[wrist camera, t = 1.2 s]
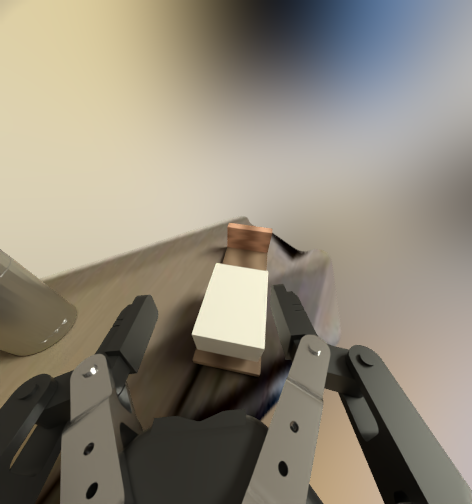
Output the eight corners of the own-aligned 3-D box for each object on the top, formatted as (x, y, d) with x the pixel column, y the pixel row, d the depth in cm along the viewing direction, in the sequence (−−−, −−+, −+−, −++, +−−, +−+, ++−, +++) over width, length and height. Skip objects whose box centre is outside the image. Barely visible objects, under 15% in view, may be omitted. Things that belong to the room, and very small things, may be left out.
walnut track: (193, 362, 27) (185, 346, 22) (228, 246, 47) (229, 222, 42) (258, 376, 26) (267, 364, 21) (266, 252, 46) (272, 228, 41)
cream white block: (199, 353, 27) (191, 334, 21) (217, 289, 35) (216, 263, 29) (255, 366, 26) (264, 349, 20) (260, 297, 35) (268, 271, 29)
